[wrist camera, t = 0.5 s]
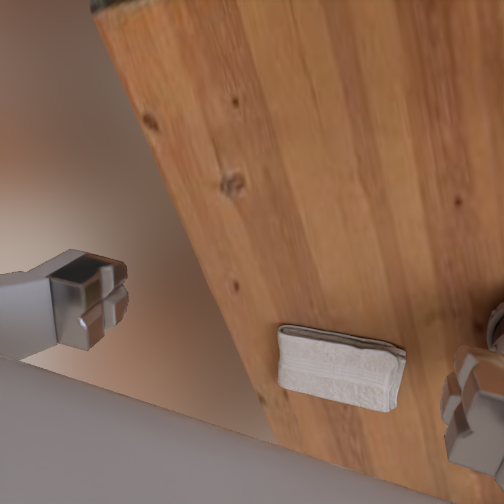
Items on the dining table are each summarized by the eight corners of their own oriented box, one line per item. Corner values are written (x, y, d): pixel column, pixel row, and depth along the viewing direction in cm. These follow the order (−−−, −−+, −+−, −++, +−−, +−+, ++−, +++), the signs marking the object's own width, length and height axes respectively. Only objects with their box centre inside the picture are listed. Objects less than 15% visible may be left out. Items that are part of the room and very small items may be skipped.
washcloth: (395, 402, 62) (395, 419, 59) (279, 378, 66) (274, 393, 64) (408, 342, 56) (408, 358, 53) (279, 320, 60) (274, 334, 58)
